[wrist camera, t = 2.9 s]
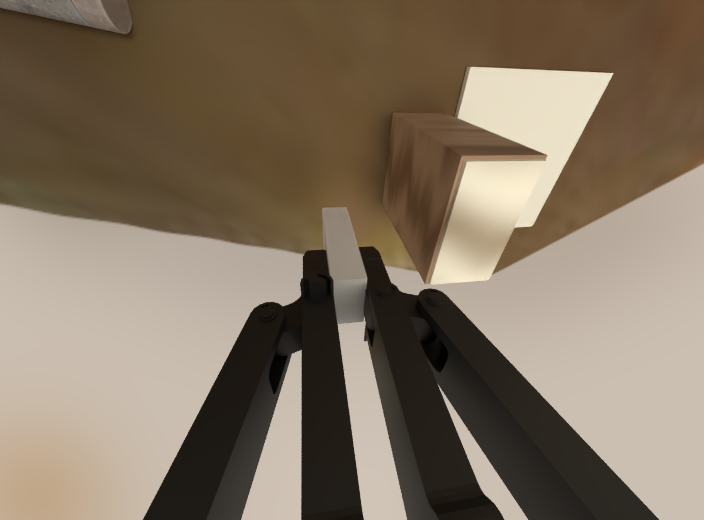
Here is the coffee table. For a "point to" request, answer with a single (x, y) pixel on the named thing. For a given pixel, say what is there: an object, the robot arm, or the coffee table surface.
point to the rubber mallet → (78, 12)
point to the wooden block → (455, 193)
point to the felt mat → (533, 115)
